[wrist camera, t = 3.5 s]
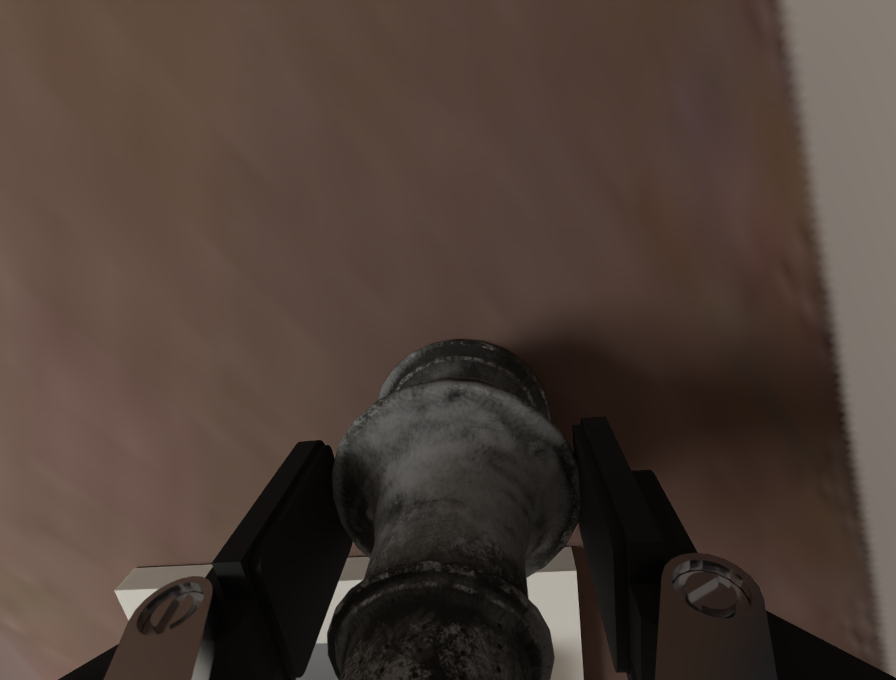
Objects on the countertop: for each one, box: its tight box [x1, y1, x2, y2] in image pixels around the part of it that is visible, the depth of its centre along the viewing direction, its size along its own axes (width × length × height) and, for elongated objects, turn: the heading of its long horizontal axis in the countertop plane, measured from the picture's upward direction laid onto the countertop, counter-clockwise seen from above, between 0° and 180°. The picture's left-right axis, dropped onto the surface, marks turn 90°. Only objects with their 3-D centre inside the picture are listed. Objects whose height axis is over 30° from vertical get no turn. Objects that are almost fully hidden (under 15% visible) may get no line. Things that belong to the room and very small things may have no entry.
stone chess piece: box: [327, 340, 581, 680], centre depth 9 cm, size 6×6×12 cm
